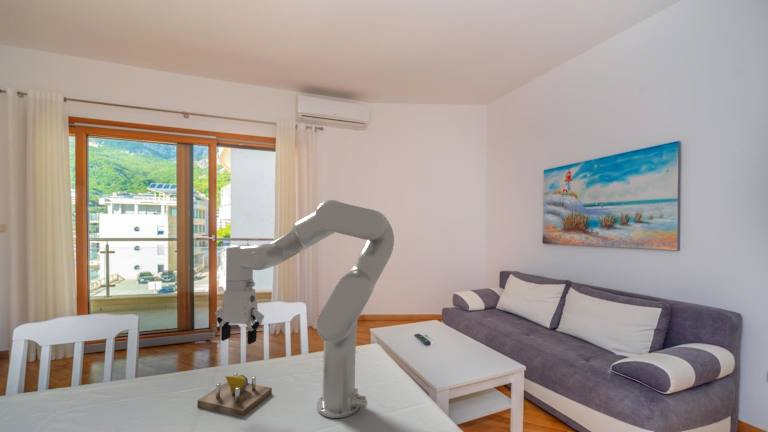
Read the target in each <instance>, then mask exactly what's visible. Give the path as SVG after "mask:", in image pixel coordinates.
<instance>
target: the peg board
mask: <svg viewBox="0 0 768 432" xmlns="http://www.w3.org/2000/svg"><path fill="white" fill-rule="evenodd" d="M232 375H233V376H239V375H238V372H235V373H233V374H232ZM256 382H257V377H256V375H254V376H251V383H249V382H248V383H249V385H247V387H246V388H245V390H244V391H243V392H242V393H240V387H236V388H235V394H233V393H232V392H231V391H230V386H229V384H228V381H225V383H223V384H221V383H220V382H218V383H216V384H215V389H214V390H212V391H209V393H207V394H206V395H203V396H202V397H201V398H199V399H198V400H197V404H196V405H197V407H199V408H203V409H206V410H211V411H216V412H220V413H224V414H228V415H233V416H237V417H241V418H244V417H245V416H246V415H247V414H248V413H249V412H251V411H252V410H253V409H254V408H256V407H257V406H258V405H260V404H261V403H262V402H263V401H265V400H266V399H267V398H268V397H269V396H270V395H272V394H273V393H272V392H273V391H272V387H270V386H264V385H259V384H256Z"/></svg>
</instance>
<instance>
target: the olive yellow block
mask: <svg viewBox="0 0 768 432" xmlns="http://www.w3.org/2000/svg"><path fill="white" fill-rule="evenodd" d="M225 379H226V382H228V384H229V386H230V391H231V392H232V393H233V394H235V388H236V387H240V393H242V392H243V391H244V390H245V388H246V387H247V385H249V380H248V377H247V376H245V375H241V374H240V375H238V376H232V375H227V376H225Z"/></svg>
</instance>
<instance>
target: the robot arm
mask: <svg viewBox="0 0 768 432" xmlns="http://www.w3.org/2000/svg"><path fill="white" fill-rule="evenodd" d="M335 233H336V234H337V233H338V234H340V235H345V236H349V237H353V238H356V239H360V240H365V244H364V246H363V248H362V250H361V251H360V253H359V255H358V257H357V259H356V260H355V262H354V263H353V265H352V266H351V268H350V270H349V271H347V273H346V274H344V275H343V276H342V277H341V278H340V279H339V281H338V282H337V284H336V286H335V287H334V288H333V291H332V293H331V294H330V296H329V298H328V299H327V301H326V303H325V305H323V308H322V310H321V311H320V313H319V314H318V317H317V320H316V331H317V334H318V336H319V337H320V338H321V340H323V355H322V356H323V363H322V364H323V365H322V366H323V367H322V368H323V369H322V396H321V397H320V398H319V399H318V400H317V402H316V409H317V411H318V413H320V415H322V416H324V417H327V418H331V419H341V418H346V417H349V416H352V415H353V414H355V413H356V412H357V411H358V410H359V408H366V409H367V407H368V400H367V396H366V395H361V394H359V388H356V354H357V351H356V350H357V348H356V347H357V346H356V345H357V329H358V319H359V317H360V315H361V314H362V313H363V310H364V309H365V307H366V306H367V303H368V302H369V300H370V298H371V296H372V294H373V292H374V288H375V286H376V284H377V282H378V280H379V279H380V277H381V276H382V273H383V272H384V270H385V267H386V266H387V264H388V263H389V261H390V258H391V255H392V254H393V253H392V252H393V251H394V245H395V236H394V235H395V233H394V230H393V227H392V226H391V224H390V221H389V220H388V219H387V217H386V216H385V215H384V213H381V212H380V211H377V210H375V209H371V208H366V207H361V206H357V205H353V204H349V203H345V202H342V201H340V200H339V201H338V200H335V199H328V200H325V201H322V202H321V203H320V204H319V205H318V206H317V208H316V210H315V211H313V212H311V213H310V214H308V215H307V216H305V217H303V218H301V219H300V220H298V221H296V222H295V223H294V224H293V226H292V228H291V230H290V231H289V232H287V233H286V234H284V235H283V236H281V237H279V238H278V239H276V240H274V241H272V242H269V243H264V244H257V245H251V244H232V245H230V246H228V247H227V248H226V253H225V254H226V256H225V257H226V261H225V266H226V267H225V289H224V291H223V297H222V303H221V304H222V305H221V308H220V309H217V310H215V312H214V314H215V317H216V321H217V322H218V324H219V328H220V341H223V342H224V341H226V340H228V339H230V338H231V337H232V336H231V332H232V331H231V329H232V328H231V327H232V326H231V323H232V324H239V325H240V324H241V325H245V326H246V327H247V329H248V330H247V337H246V338H247V340H246V341H247V345H252V344H253V343H255V342H257V331H258V330H257V329H259V327H260V326H261V325H262V322H263V321H264V318H265V315H263V314H262V313H261V312H260V311H258V309H259V308H258V297H257V292H256V289H255V288H253V287H255V285H256V283H255V282H254V281H253V280H254V278H253V277H254V275H253V273H254V271H264V270H266V269H269V268H272V267H275V266H278V265H280V264H282V263H284V262H286V261H287V260H289V259H290V258H291V259H292V258H293V257H294V256H296V255H298V254H299V253H301V252H303V251H305V250H307V249H309V248H310V247H312V246H313V245H316V244H317V243H319V242H320V241H322V240H324V239H326V238H328V237H330V236H331V235H333V234H335Z"/></svg>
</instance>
